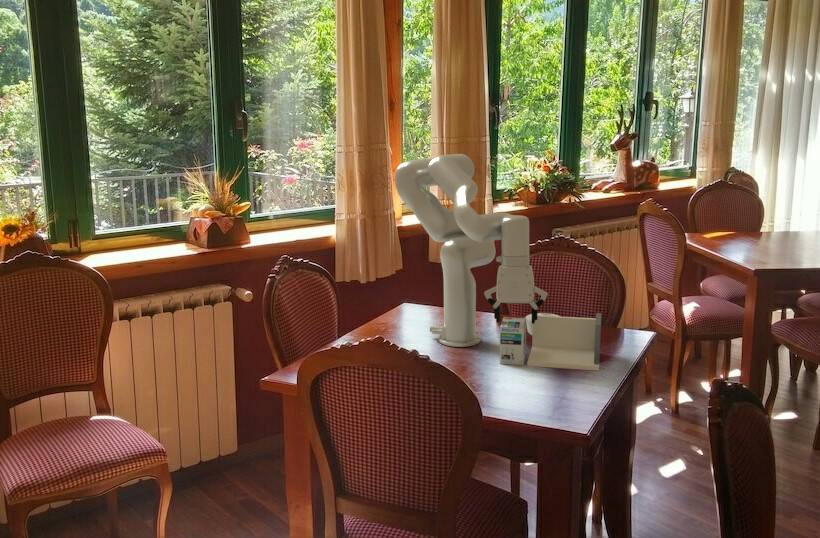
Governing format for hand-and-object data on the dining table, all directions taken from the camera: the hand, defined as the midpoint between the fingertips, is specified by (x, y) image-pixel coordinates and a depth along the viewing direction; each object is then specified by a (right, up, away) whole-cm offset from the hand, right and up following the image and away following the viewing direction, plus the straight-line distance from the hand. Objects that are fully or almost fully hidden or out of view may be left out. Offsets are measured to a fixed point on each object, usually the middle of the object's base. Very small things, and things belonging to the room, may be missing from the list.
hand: (515, 321), depth 220 cm
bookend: (+22, -10, 0) cm, 24 cm away
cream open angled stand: (+14, -11, +2) cm, 18 cm away
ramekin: (+12, -6, +26) cm, 29 cm away
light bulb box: (0, -11, +3) cm, 11 cm away
